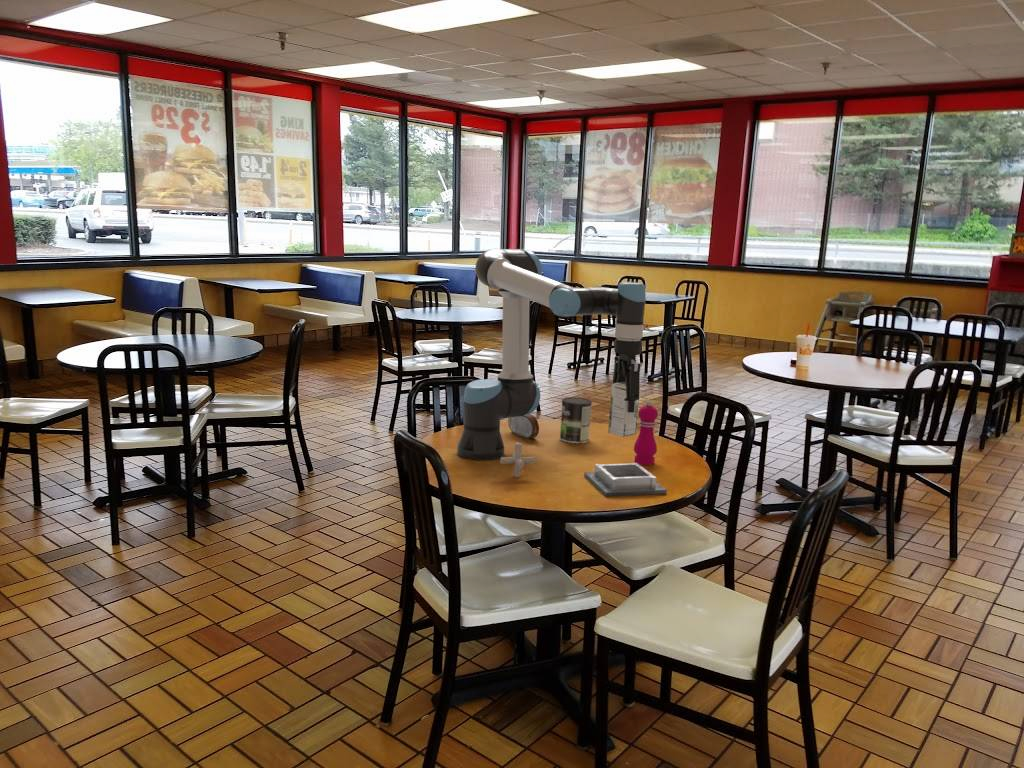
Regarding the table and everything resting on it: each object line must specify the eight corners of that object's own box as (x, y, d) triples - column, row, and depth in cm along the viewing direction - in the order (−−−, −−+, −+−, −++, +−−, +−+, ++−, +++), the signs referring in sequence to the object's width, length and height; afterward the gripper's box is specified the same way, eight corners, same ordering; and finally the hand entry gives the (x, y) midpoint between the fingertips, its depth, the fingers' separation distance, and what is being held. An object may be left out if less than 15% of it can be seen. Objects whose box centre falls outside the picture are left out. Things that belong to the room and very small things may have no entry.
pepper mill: (644, 467, 234) (649, 404, 231) (628, 460, 240) (632, 399, 236) (660, 463, 239) (665, 402, 235) (644, 457, 244) (648, 397, 240)
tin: (539, 440, 260) (540, 416, 259) (532, 441, 258) (533, 417, 257) (513, 430, 272) (514, 407, 270) (506, 431, 270) (507, 408, 268)
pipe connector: (503, 482, 214) (504, 448, 212) (497, 471, 224) (498, 439, 222) (537, 481, 216) (539, 448, 214) (530, 470, 226) (531, 438, 224)
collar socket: (605, 496, 206) (606, 482, 205) (584, 476, 223) (585, 462, 222) (666, 493, 210) (667, 479, 210) (640, 473, 227) (641, 460, 227)
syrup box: (620, 430, 217) (624, 380, 214) (637, 434, 212) (640, 384, 210) (607, 433, 213) (610, 382, 210) (623, 437, 209) (627, 386, 206)
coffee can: (566, 444, 256) (568, 404, 254) (555, 436, 266) (557, 397, 263) (594, 443, 259) (596, 403, 257) (582, 435, 269) (584, 396, 266)
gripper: (656, 344, 199) (650, 428, 203) (628, 334, 218) (623, 411, 222) (629, 344, 197) (623, 429, 201) (603, 334, 216) (598, 411, 221)
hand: (623, 419), depth 212 cm, fingers closed on syrup box, 7 cm apart
